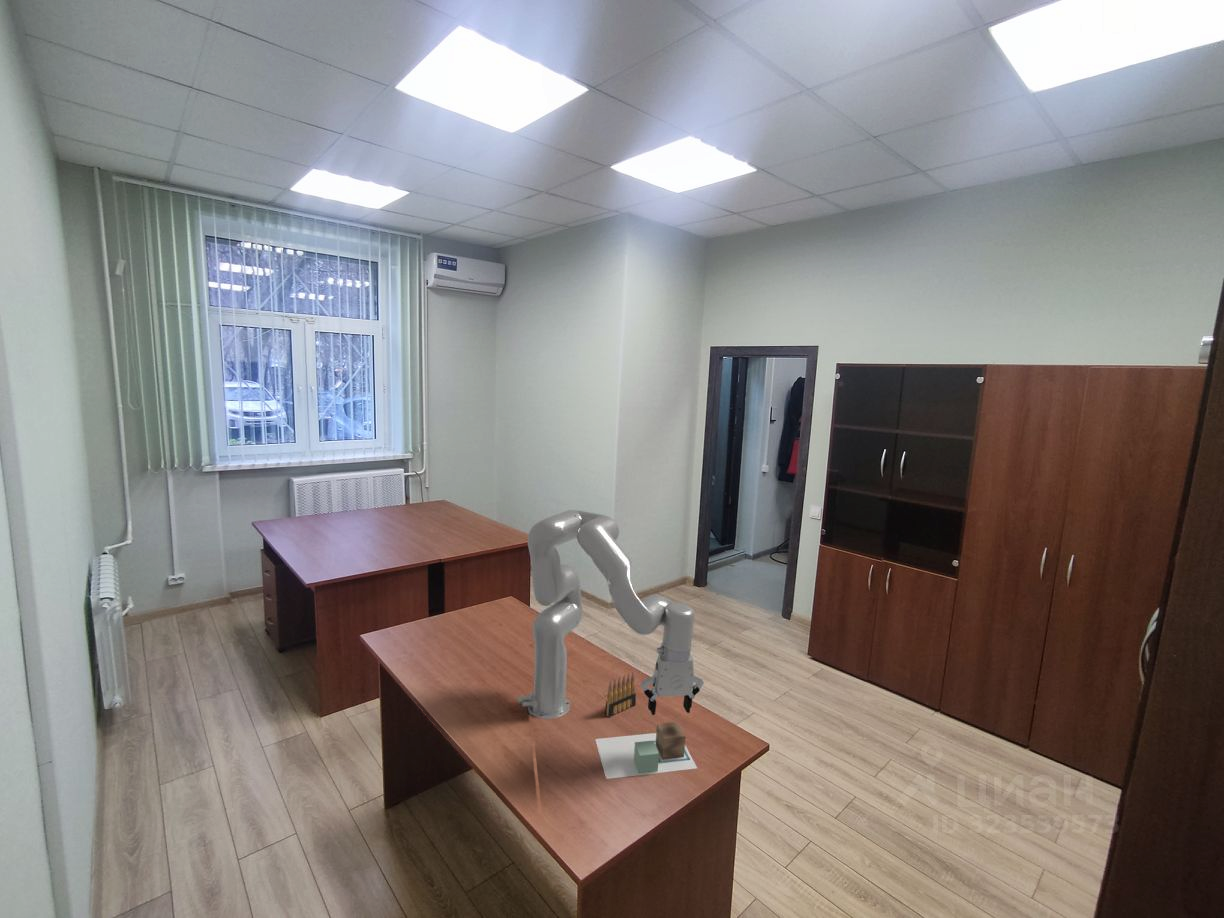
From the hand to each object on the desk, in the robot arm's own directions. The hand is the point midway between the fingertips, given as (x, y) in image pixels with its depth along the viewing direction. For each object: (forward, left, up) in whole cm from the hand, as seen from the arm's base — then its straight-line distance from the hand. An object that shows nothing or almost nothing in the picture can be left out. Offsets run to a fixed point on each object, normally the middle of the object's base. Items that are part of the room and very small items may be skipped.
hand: (669, 710), depth 141 cm
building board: (-6, -1, -12) cm, 14 cm away
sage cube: (-7, -5, -11) cm, 14 cm away
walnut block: (+1, -1, -11) cm, 11 cm away
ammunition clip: (-8, +19, -13) cm, 24 cm away
